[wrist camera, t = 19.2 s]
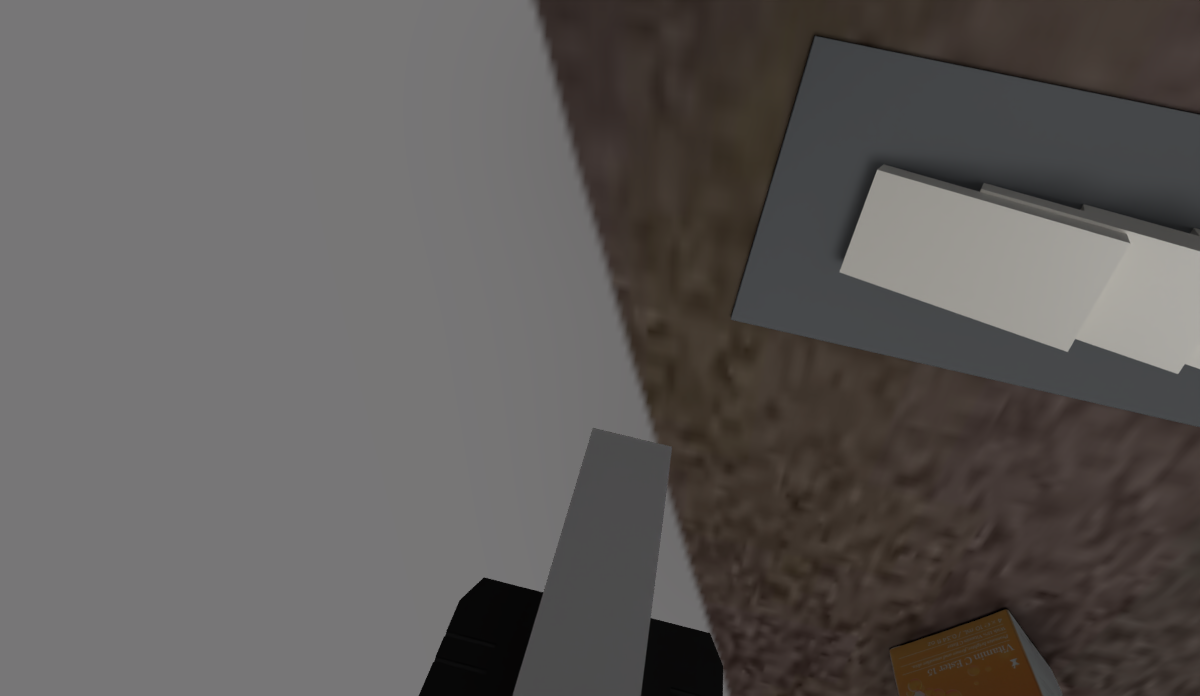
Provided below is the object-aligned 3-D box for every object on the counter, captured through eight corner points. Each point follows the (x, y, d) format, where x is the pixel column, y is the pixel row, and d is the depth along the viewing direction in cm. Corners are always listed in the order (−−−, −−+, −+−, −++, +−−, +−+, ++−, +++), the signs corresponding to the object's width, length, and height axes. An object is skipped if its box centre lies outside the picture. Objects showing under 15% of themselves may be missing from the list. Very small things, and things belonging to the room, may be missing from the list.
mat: (814, 35, 31) (815, 36, 31) (1508, 177, 30) (1517, 179, 29) (731, 316, 38) (731, 319, 38) (1290, 444, 36) (1296, 449, 36)
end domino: (877, 169, 32) (1130, 243, 28) (883, 164, 33) (1126, 233, 29) (839, 272, 34) (1067, 352, 31) (846, 263, 35) (1066, 338, 32)
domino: (981, 189, 31) (1250, 266, 28) (983, 182, 33) (1242, 255, 29) (935, 291, 34) (1178, 374, 30) (939, 281, 35) (1172, 360, 31)
